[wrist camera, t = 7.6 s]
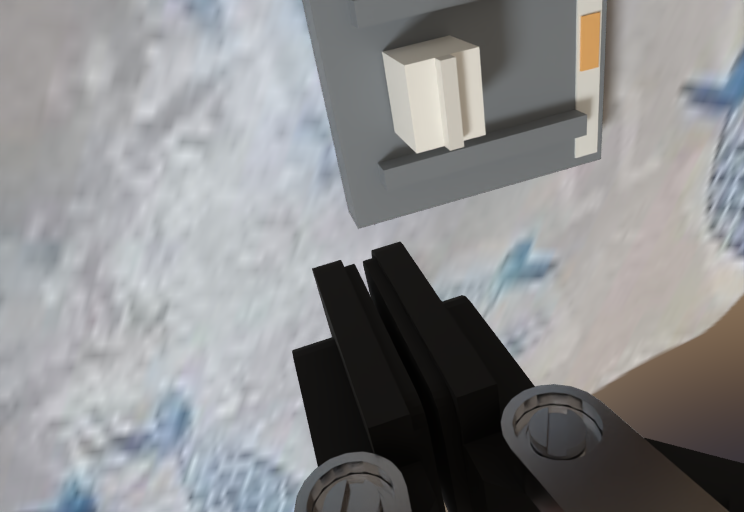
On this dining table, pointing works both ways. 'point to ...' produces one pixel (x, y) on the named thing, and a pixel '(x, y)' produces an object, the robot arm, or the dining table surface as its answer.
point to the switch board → (499, 85)
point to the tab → (435, 93)
